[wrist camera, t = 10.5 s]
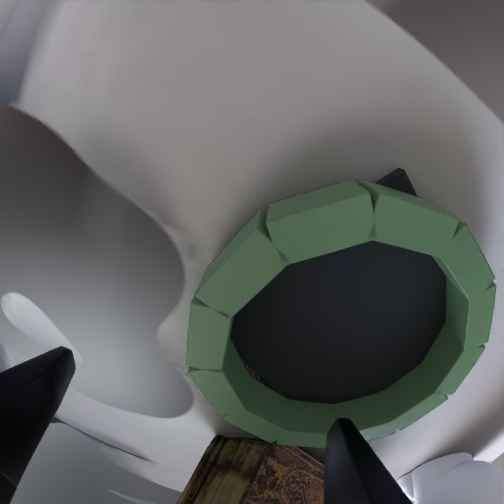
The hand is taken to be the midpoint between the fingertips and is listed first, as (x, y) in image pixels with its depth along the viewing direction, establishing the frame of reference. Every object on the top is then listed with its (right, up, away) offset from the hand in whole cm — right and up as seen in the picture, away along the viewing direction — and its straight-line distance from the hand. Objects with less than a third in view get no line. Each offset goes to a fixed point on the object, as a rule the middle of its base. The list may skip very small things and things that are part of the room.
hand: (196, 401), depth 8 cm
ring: (+6, +1, +5) cm, 8 cm away
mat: (+7, +1, +6) cm, 9 cm away
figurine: (+23, -19, +13) cm, 33 cm away
